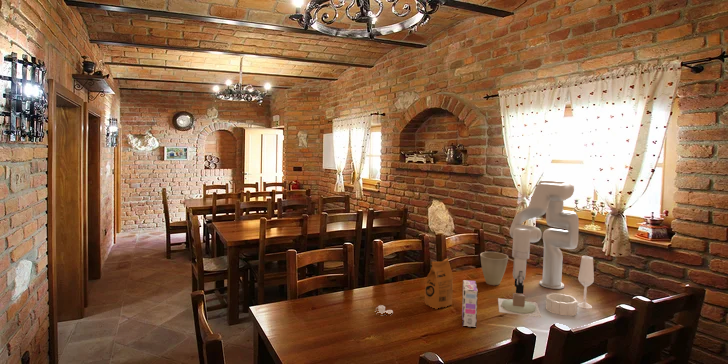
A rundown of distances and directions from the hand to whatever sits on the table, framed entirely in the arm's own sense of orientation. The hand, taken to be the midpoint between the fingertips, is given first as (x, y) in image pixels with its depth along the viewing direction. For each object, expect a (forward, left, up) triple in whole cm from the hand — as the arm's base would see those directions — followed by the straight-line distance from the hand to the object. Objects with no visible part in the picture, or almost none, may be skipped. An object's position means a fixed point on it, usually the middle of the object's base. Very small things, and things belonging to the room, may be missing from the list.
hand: (518, 289), depth 200 cm
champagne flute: (-14, +31, -9) cm, 35 cm away
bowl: (-4, +19, -9) cm, 22 cm away
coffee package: (+6, -37, -9) cm, 39 cm away
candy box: (+21, -22, -9) cm, 32 cm away
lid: (-1, 0, -9) cm, 9 cm away
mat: (-1, 0, -9) cm, 9 cm away
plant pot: (-35, -11, -9) cm, 37 cm away
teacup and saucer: (+28, -58, -10) cm, 65 cm away
